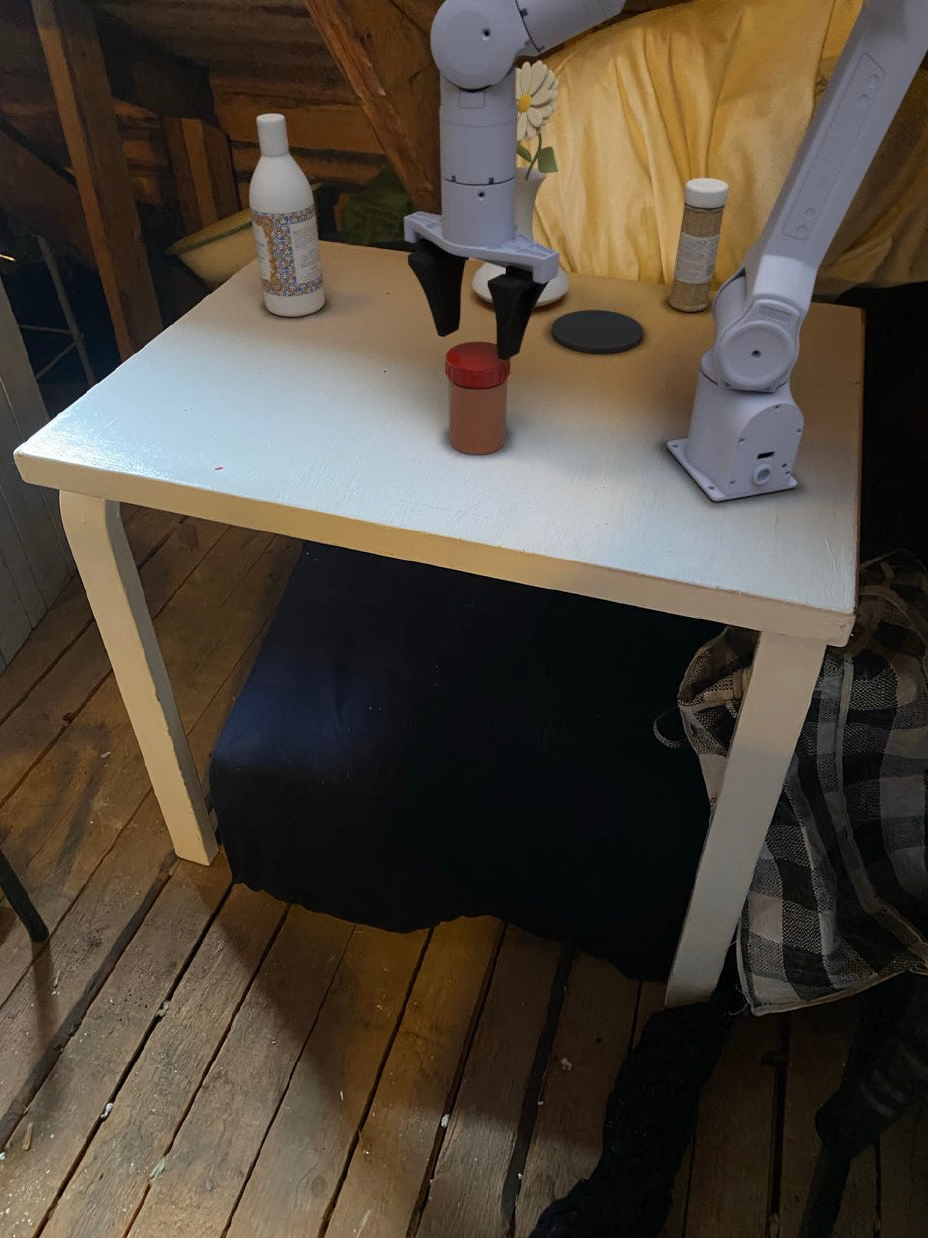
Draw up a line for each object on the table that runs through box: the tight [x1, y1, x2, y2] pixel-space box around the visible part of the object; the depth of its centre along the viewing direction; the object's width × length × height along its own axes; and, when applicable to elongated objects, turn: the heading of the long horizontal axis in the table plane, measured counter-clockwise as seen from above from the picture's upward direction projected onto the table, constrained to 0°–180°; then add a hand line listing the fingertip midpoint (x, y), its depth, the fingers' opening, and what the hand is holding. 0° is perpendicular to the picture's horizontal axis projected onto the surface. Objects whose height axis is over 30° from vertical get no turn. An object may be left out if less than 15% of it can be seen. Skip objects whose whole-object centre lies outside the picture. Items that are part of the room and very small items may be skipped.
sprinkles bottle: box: [668, 177, 730, 313], centre depth 103 cm, size 5×5×13 cm
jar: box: [447, 378, 508, 456], centre depth 82 cm, size 5×5×8 cm
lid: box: [444, 341, 511, 388], centre depth 80 cm, size 6×6×2 cm
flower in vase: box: [471, 59, 570, 308], centre depth 100 cm, size 13×11×25 cm
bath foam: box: [248, 113, 326, 318], centre depth 101 cm, size 7×7×20 cm
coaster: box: [551, 309, 644, 355], centre depth 101 cm, size 10×10×1 cm
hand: (478, 343), depth 79 cm, fingers open, 6 cm apart
